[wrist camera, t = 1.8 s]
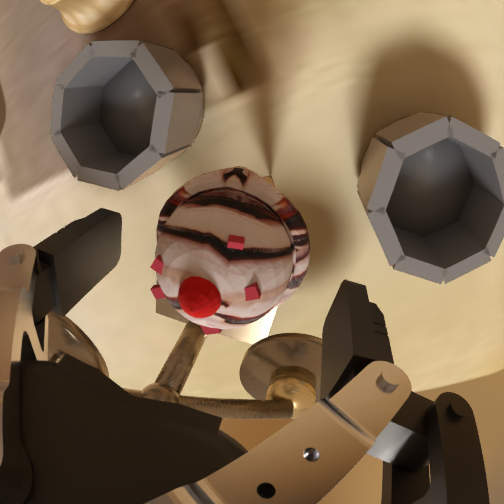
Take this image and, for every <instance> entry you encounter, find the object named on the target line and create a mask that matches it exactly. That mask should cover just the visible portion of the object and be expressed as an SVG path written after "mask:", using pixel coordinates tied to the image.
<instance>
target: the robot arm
mask: <svg viewBox="0 0 504 504" xmlns="http://www.w3.org/2000/svg"><path fill="white" fill-rule="evenodd" d="M121 229H122V217H121V215H120V213H118V212H114V211H111V210H107V209H104V208H100V209H98V210H97V211H95V212H93V213H92V214H90V215H88V216H87V217H85V218H82V219H79V220H75V221H73V222H72V223H70V224H68V225H67V226H65V228H62V229H60V230H59V231H58V232H57V233H54V234H52V235H51V236H49V237H48V238H46V239H45V240H43V241H42V242H40V243H39V244H37V245H36V246H34V247H32V246H30V245H26V244H16V245H12V246H9V247H6V248H5V249H3V250H2V251H1V252H0V504H317V503H318V502H319V501H320V500H321V499H322V498H323V497H325V496H326V495H327V494H328V493H329V492H330V491H331V490H332V489H333V488H334V487H335V486H336V485H337V484H338V483H339V482H340V481H341V480H342V479H343V478H344V477H345V476H346V474H348V472H349V471H350V470H351V469H352V468H353V467H354V466H355V465H356V464H357V463H358V462H359V461H360V459H361V458H362V457H363V456H364V455H365V454H366V453H367V454H369V455H371V456H374V457H376V458H378V459H381V460H383V481H382V501H381V504H490V503H489V494H488V486H487V479H486V472H485V466H484V461H483V455H482V450H481V444H480V440H479V435H478V430H477V426H476V422H475V418H474V414H473V411H472V408H471V407H470V405H469V404H468V402H467V401H466V400H465V399H464V398H462V397H461V396H459V395H458V394H455V393H452V392H445V393H442V394H440V395H439V397H438V398H437V399H436V400H435V401H434V402H433V401H431V400H429V399H427V398H424V397H423V396H420V395H418V394H416V393H414V392H412V391H411V383H410V380H409V378H408V376H407V375H406V374H405V373H404V371H403V370H401V369H400V368H399V367H397V366H396V365H394V362H393V357H392V352H391V347H390V342H389V337H388V336H387V335H388V333H387V328H386V327H385V326H386V324H385V320H384V315H383V313H382V312H381V311H380V309H379V308H378V306H377V305H376V304H375V303H371V302H369V299H368V294H367V289H366V286H365V285H362V284H358V283H355V282H351V281H348V280H343V282H342V283H341V285H340V288H339V290H338V292H337V294H336V297H335V299H334V301H333V303H332V306H331V308H330V310H329V312H328V315H327V317H326V320H325V323H324V327H323V333H322V364H321V385H320V401H318V402H317V403H316V404H314V405H313V406H312V407H310V408H309V409H308V410H307V411H305V412H304V413H303V414H301V415H300V416H299V417H297V418H296V419H295V420H294V421H292V422H291V423H289V424H288V425H286V426H285V427H284V428H282V429H281V430H280V431H278V432H277V433H275V434H274V435H272V436H271V437H270V438H268V439H267V440H265V441H264V442H262V443H261V444H259V445H258V446H256V447H255V448H253V449H252V450H250V451H249V452H248V451H247V450H246V449H245V448H244V447H243V446H242V445H241V444H240V443H238V442H237V441H236V440H235V439H233V438H232V437H230V436H229V435H228V434H226V433H224V432H223V431H221V430H219V427H220V424H221V421H222V418H221V417H218V416H215V415H212V414H208V413H205V412H202V411H199V410H196V409H193V408H191V407H188V406H185V405H182V404H179V403H172V402H166V401H160V400H154V399H148V398H142V397H137V396H133V395H131V394H129V393H128V392H127V391H125V390H124V389H123V388H121V387H120V386H119V385H117V384H116V383H115V382H114V381H112V380H111V379H110V378H109V377H107V376H106V375H105V374H104V373H102V372H101V371H100V370H99V369H96V368H94V367H92V366H90V365H88V364H86V363H84V362H82V361H80V360H79V359H77V358H75V357H73V356H71V355H69V354H67V353H66V354H65V355H64V357H63V358H62V359H61V360H60V361H59V363H58V362H53V361H48V317H47V314H48V313H49V312H50V311H52V312H54V313H56V314H57V315H59V316H61V317H64V316H65V315H66V314H67V313H68V312H69V311H70V310H71V309H72V308H73V307H74V306H75V305H76V304H77V303H78V302H79V301H80V300H81V299H82V298H83V297H84V296H85V295H86V294H87V293H88V292H89V291H90V290H91V289H92V288H93V287H94V286H95V285H96V284H97V283H98V282H99V281H101V280H102V279H103V278H104V277H105V276H106V275H107V274H108V273H109V272H110V271H111V270H112V269H113V268H114V267H115V266H116V265H117V263H118V261H119V258H120V254H121ZM429 464H430V475H431V482H430V478H429Z"/></svg>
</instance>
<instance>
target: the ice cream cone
mask: <svg viewBox="0 0 504 504" xmlns="http://www.w3.org/2000/svg"><path fill="white" fill-rule="evenodd" d="M309 260H310V241H309V236H308V231H307V227H306V224H305V222H304V220H303V218H302V216H301V214H300V212H299V211H298V210H297V209H296V208H295V206H294V205H293V204H292V203H291V202H290V201H289V200H288V199H287V198H286V197H285V196H284V195H283V194H282V193H281V192H280V191H279V190H278V189H276V188H275V185H274V182H273V179H272V176H266V177H260V176H259V175H257V174H256V173H254V172H253V171H251V170H249V169H247V168H245V167H240V166H237V167H233V168H227V169H221V170H217V171H213V172H209V173H206V174H202V175H200V176H198V177H196V178H194V179H192V180H190V181H188V182H187V183H185V184H184V185H183V186H181V187H180V188H179V189H177V190H176V191H175V192H174V193H173V194H172V195H171V197H170V198H169V199H168V200H167V201H166V203H165V205H164V207H163V208H162V210H161V212H160V215H159V220H158V225H157V247H156V252H155V260H154V262H153V264H152V265H151V268H152V269H153V270H155V271H156V274H157V279H158V282H159V284H158V285H153V287H152V288H151V291H152V293H153V295H154V297H155V299H161V298H167V300H168V301H169V303H170V304H171V305H172V306H173V307H174V308H175V310H176V311H178V312H179V313H180V314H181V315H182V316H184V317H185V318H187V319H188V320H190V321H192V322H194V323H196V324H199V325H200V326H201V328H202V330H203V332H204V334H205V335H207V334H216V333H221V331H222V329H233V328H239V327H243V326H246V325H249V324H251V323H253V322H255V321H257V320H259V319H261V318H262V317H264V316H265V315H266V314H268V313H269V312H270V311H271V310H272V309H273V308H275V307H277V306H279V305H280V304H282V303H283V302H284V301H286V300H287V299H288V298H290V297H291V295H292V294H293V293H294V292H295V291H296V290H297V289H298V287H299V285H300V284H301V282H302V280H303V278H304V276H305V274H306V272H307V268H308V264H309Z"/></svg>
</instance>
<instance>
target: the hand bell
mask: <svg viewBox="0 0 504 504" xmlns="http://www.w3.org/2000/svg"><path fill="white" fill-rule="evenodd" d="M40 1H41V2H42V3H44V4H46V5H49V6H52V7H54V8H57V9H58V10H60V12H61V16H62V19H63V21H64V23H65V24H66V25H67V27H68V28H69V29H71V30H72V31H74V32H76V33H80V34H90V33H95V32H98V31H100V30H103V29H105V28H106V27H108V26H110V25H111V24H112V23H114V22H115V21H116V20H118V19H119V18H120V17H121V16H122V15H123V14H124V13H125V12H126V11H127V10H128V8H129V7H130V6H131V4H132V2H133V1H134V0H40Z"/></svg>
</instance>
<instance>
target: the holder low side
mask: <svg viewBox="0 0 504 504" xmlns="http://www.w3.org/2000/svg"><path fill="white" fill-rule="evenodd" d="M357 188H358V190H357V192H358V194H359V197H360V199H361V201H362V204H363V206H364V209H365V211H366V214H367V216H368V218H369V220H370V222H371V224H372V226H373V229H374V231H375V233H376V235H377V237H378V240H379V242H380V244H381V246H382V249H383V251H384V253H385V255H386V258H387V260H388V262H389V265H390V266H391V265H392V266H393V269H395V270H398V271H401V272H404V273H407V274H410V275H414V276H417V277H420V278H423V279H426V280H429V281H432V282H435V283H439V284H441V283H442V281H444V283H445V284H446V283H448V282H450V281H452V280H454V279H456V278H458V277H460V276H462V275H464V274H466V273H468V272H470V271H472V270H474V269H476V268H478V267H480V266H482V265H484V264H485V263H487V262H489V261H491V259H490V256H492V257H494V256H495V254H496V252H497V250H498V248H499V246H500V244H501V242H502V240H503V238H504V148H503V147H501V146H500V143H499V142H497V141H496V140H494V139H492V138H491V137H489V136H487V135H486V134H484V133H482V132H480V131H478V130H477V129H475V128H473V127H471V126H469V125H467V124H465V123H464V122H462V121H460V120H458V119H456V118H454V117H452V116H446V115H440V114H434V113H427V112H419V113H417V114H415V115H412V116H410V117H406V118H402V119H399V120H396V121H394V122H392V123H391V124H389V125H387V126H386V127H385V128H383V129H382V130H381V131H379V132H377V133H376V136H375V137H372V140H371V142H370V144H369V146H368V148H367V149H366V151H365V154H364V157H363V159H362V163H361V167H360V178H359V181H358V184H357Z"/></svg>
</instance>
